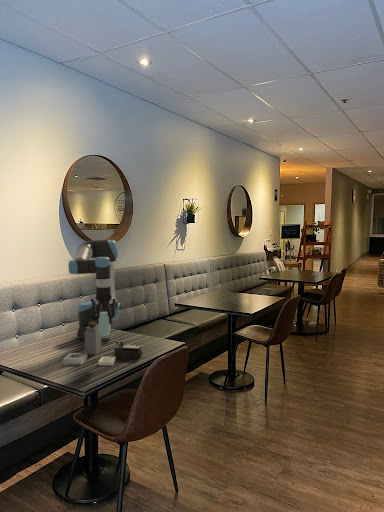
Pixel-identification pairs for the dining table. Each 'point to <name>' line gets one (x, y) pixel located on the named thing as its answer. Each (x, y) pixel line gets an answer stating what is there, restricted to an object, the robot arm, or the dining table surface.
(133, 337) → the dining table surface
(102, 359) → the holster
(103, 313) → the plug
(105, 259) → the robot arm
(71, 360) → the block
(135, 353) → the camera
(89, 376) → the dining table surface
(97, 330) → the perfume bottle
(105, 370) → the dining table surface
